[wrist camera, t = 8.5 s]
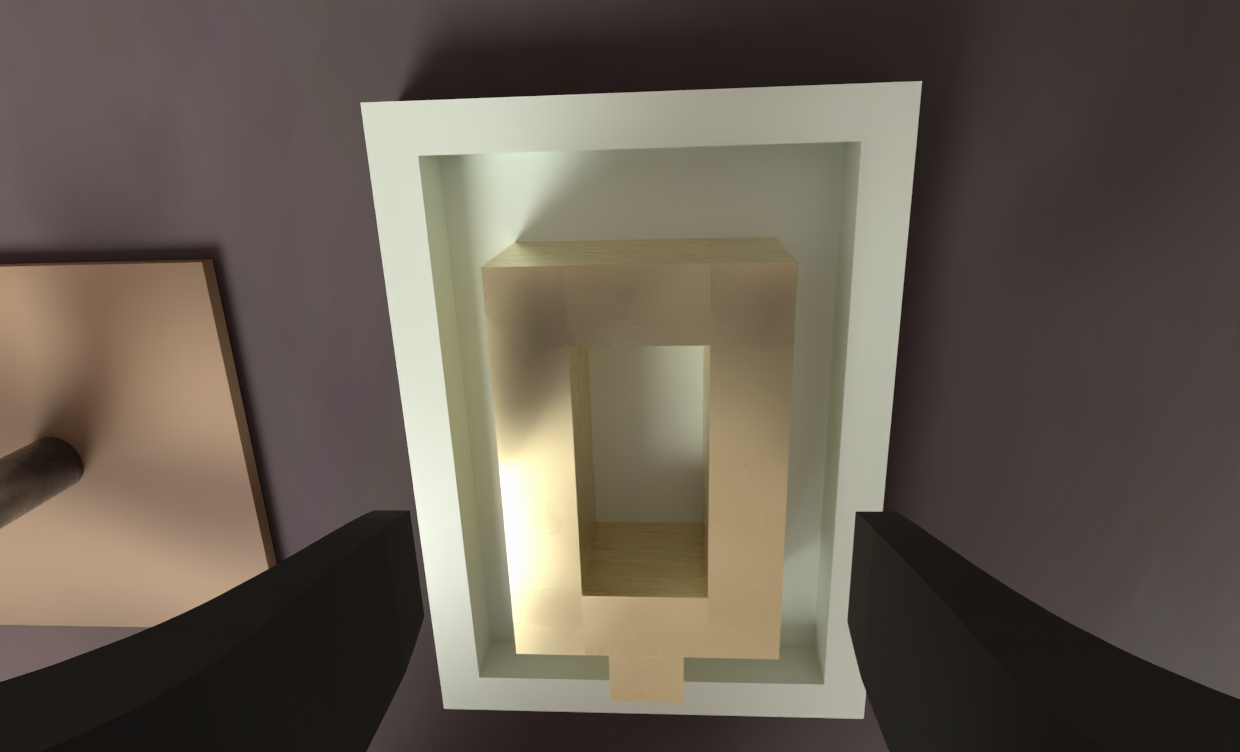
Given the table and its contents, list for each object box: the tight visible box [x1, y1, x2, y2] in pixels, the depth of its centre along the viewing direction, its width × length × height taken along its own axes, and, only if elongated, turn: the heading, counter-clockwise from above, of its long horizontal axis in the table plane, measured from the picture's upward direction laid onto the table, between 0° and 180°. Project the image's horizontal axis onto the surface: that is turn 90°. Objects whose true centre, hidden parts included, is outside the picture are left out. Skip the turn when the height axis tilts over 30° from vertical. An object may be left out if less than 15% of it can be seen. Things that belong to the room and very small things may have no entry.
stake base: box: [0, 259, 277, 627], centre depth 19 cm, size 10×10×1 cm
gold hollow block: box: [481, 237, 798, 703], centre depth 16 cm, size 6×10×3 cm, turn 2°
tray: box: [361, 81, 922, 719], centre depth 17 cm, size 14×10×2 cm
